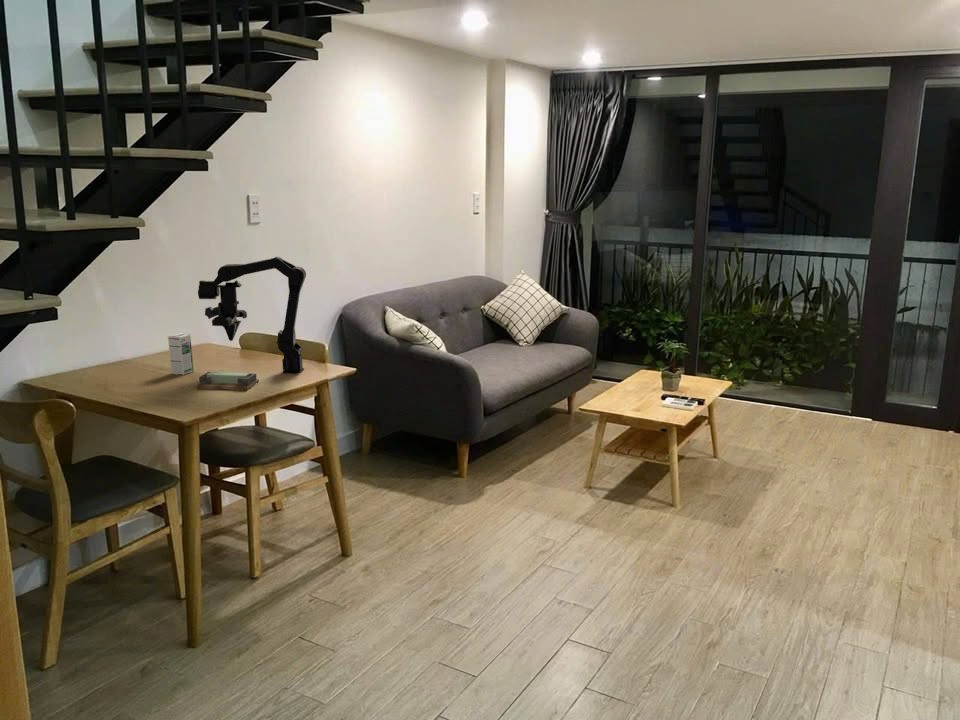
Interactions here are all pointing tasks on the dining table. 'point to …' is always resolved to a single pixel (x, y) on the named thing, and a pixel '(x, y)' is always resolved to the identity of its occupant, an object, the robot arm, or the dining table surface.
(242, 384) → the frame
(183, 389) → the dining table surface
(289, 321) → the robot arm
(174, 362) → the syrup box
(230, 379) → the slat
